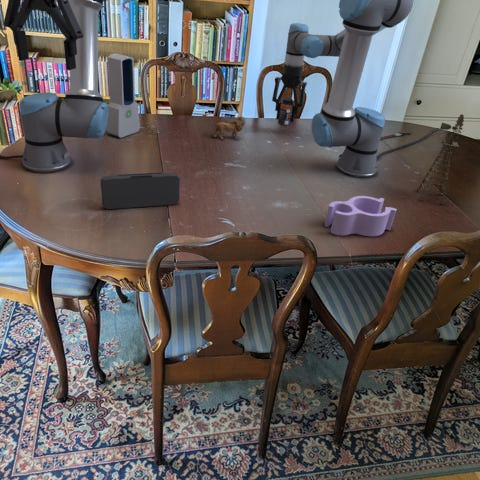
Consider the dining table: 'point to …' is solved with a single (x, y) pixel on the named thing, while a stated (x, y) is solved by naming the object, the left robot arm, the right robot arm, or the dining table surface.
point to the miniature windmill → (450, 144)
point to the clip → (359, 216)
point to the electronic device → (122, 97)
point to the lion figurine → (230, 127)
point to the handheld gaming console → (140, 190)
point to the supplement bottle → (286, 112)
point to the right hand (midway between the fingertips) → (285, 119)
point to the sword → (393, 135)
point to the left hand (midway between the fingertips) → (47, 64)
